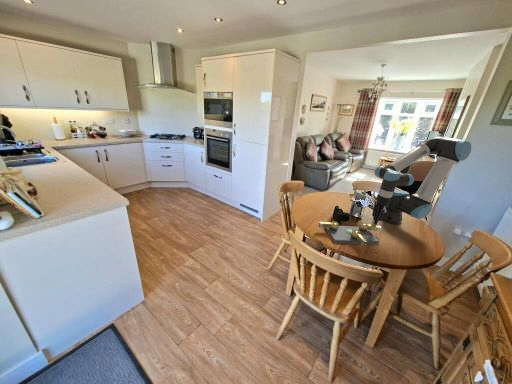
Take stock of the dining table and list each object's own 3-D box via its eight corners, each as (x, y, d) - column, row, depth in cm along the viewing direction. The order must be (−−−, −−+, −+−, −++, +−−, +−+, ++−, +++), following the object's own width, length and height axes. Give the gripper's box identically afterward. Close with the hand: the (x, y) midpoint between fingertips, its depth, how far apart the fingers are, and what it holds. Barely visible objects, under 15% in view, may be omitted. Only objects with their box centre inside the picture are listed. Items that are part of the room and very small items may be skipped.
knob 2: (359, 230, 135) (361, 225, 134) (358, 227, 140) (359, 221, 138) (380, 234, 133) (382, 229, 132) (377, 230, 138) (379, 224, 136)
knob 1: (335, 226, 138) (337, 221, 136) (338, 230, 133) (340, 225, 132) (317, 226, 137) (318, 220, 135) (320, 230, 132) (321, 224, 131)
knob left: (349, 234, 130) (350, 229, 129) (356, 235, 130) (358, 229, 129) (359, 247, 119) (361, 241, 117) (367, 247, 119) (369, 241, 117)
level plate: (364, 229, 142) (365, 225, 141) (378, 243, 127) (379, 239, 126) (324, 228, 140) (325, 224, 139) (334, 242, 125) (335, 238, 124)
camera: (350, 227, 143) (353, 214, 139) (334, 225, 144) (337, 212, 140) (345, 217, 156) (348, 205, 152) (331, 215, 157) (333, 203, 153)
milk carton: (349, 212, 165) (356, 188, 157) (358, 214, 163) (365, 190, 155) (350, 216, 158) (357, 192, 151) (359, 218, 156) (367, 193, 149)
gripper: (373, 190, 133) (363, 221, 143) (383, 199, 121) (371, 232, 131) (385, 191, 133) (374, 223, 142) (396, 200, 121) (383, 234, 131)
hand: (372, 227), depth 137 cm, fingers closed
